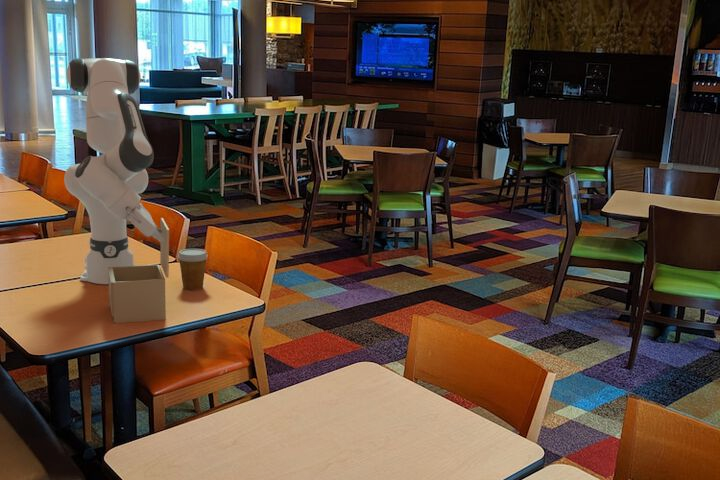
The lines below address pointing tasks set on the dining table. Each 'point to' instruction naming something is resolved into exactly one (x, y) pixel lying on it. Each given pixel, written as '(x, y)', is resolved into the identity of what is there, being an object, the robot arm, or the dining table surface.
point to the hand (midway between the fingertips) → (161, 237)
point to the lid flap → (165, 248)
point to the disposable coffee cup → (192, 267)
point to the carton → (137, 293)
